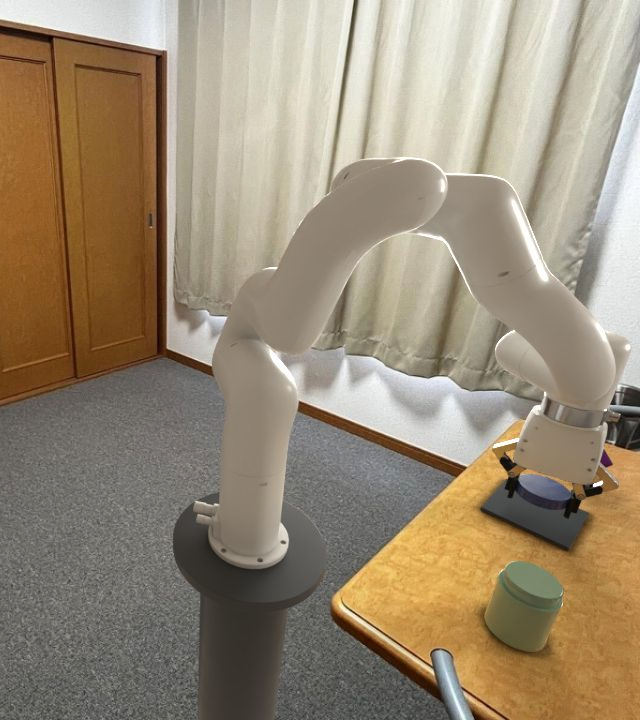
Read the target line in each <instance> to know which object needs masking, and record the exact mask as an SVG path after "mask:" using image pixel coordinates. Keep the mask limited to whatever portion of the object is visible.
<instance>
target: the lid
mask: <svg viewBox="0 0 640 720" xmlns="http://www.w3.org/2000/svg"><path fill="white" fill-rule="evenodd" d="M515 491H516V492H517V494H518V495H519V496H520V497H521V498H523V499H524V500H526V501H527V502H529V503H531V504H533V505H535V506H538V507H541V508H545V509H549V510H562V509H565V508H566V506H567V504H568V502H569V499H570V491H571V490H569V489H568V488H567V487H566V486H565V485H564V484H563V483H560V482H559V481H557V480H555V479H554V478H553V479H552V478H550V477H548V476H545V475H541V474H536V473H523V474H520V477H519V480H518V483H517V486H516V489H515Z"/></svg>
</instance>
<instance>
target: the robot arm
mask: <svg viewBox="0 0 640 720" xmlns="http://www.w3.org/2000/svg"><path fill="white" fill-rule="evenodd" d="M401 234H410V235H417V236H424V237H428V238H431V239H435V240H439V241H442V242H443V243H445V245H446V246H447V248H448V249H449V251H450V253H451V255H452V258H453V259H454V262H455V263H456V265H457V267H458V269H459V272H460V273H461V276H462V277H463V280H464V282H465V284H466V286H467V288H468V290H469V292H470V295H471V296H472V298H473V300H475V302H476V303H477V304H478V305H479V306H481V308H483V309H484V310H485V311H486V312H487V313H489V314H490V315H491V316H492V317H494V318H495V319H496V320H498V321H499V322H501V323H503V325H505V326H506V327H508V328H510V329H512V331H510V332H508V333H506V334H505V335H503V336H502V337H501V338H500V339H499V341H498V342H497V343H496V345H495V349H494V357H495V360H496V362H497V364H498V365H499V366H500V368H502V369H503V370H504V371H505V372H507V373H508V374H510V375H513V376H514V377H516V378H518V379H520V380H522V381H523V382H525V383H527V384H529V385H531V386H533V387H535V388H537V389H539V390H541V391H542V392H544V393H543V396H542V399H541V402H540V404H537V405H534V406H533V407H532V409H531V410H530V412H529V414H528V415H527V417H526V419H525V421H524V423H523V425H522V428H521V431H520V433H519V435H518V438H515V439H511V440H507V441H504V442H503V441H502V442H499V443H495V444H494V445H493V446H492V448H491V449H492V450H491V451H492V452H493V455H495V458H496V459H498V461H499V464H500V465H501V467H502V468H503V469H504V470H505V472H506V475H507V476H508V477H507V478H506V479H507V482H506V485H505V490H508V491H509V493H508V496H507V498H510V499H511V498H513V495H514V492H515V489H516V486H517V483H518V480H519V477H520V476H521V474H522V473H523V472H525V471H526V470H530V471H532V472H533V471H534V472H537V473H540V474H543V475H546V476H550V477H552V478H556V479H558V480H562V481H566V482H568V483H571V486H572V489H570V490H569V491H570V499H569V502H568V504H567V506H566V508H565V509H564V513H563V516H564V518H567V519H569V517H570V514H571V512H573V513H575V514H576V513H577V511H578V509H580V506H581V504H582V502H583V501H585V500H587V498H592V497H596V496H600V495H602V494H603V493H608V492H611V491H614V490H617V489H619V485H620V483H619V480H618V479H617V478H616V477H615V476H614V475H613V474H612V473H611V472H610V471H609V470H608V469H607V467H606V468H605V467H604V466H603V465H602V464H601V462H600V460H601V456H602V453H603V449H604V450H605V444H606V439H607V435H608V428H609V427H608V426H609V425H608V423H607V422H615V423H618V422H619V420H620V418H621V413H619V412H616V411H614V410H611V407H610V406H611V403H612V400H613V398H614V396H615V393H616V391H617V388H618V386H619V383H620V381H621V378H622V376H623V374H624V371H625V368H626V366H627V363H628V361H629V359H630V356H631V353H632V347H633V346H632V343H631V341H630V340H629V339H628V338H627V337H625V336H623V335H621V334H618V333H616V332H612V331H608V330H605V329H604V328H603V326H602V325H601V323H600V322H599V321H598V320H597V318H596V316H595V315H593V313H592V312H591V311H590V310H589V309H588V308H587V307H586V306H585V305H584V304H583V303H582V302H581V301H580V300H579V299H578V297H576V296H575V295H574V294H573V293H572V292H571V290H570V289H569V288H567V286H565V284H564V283H562V282H561V280H559V279H558V278H557V277H556V276H555V275H554V274H552V272H551V271H550V269H549V268H548V266H547V264H546V262H545V260H544V257H543V254H542V252H541V250H540V247H539V245H538V242H537V240H536V237H535V234H534V232H533V229H532V227H531V225H530V222H529V219H528V216H527V215H526V211H525V209H524V207H523V205H522V203H521V200H520V197H519V196H518V192H517V191H516V190H515V188H514V186H513V185H512V184H511V183H509V181H507V180H506V179H504V178H501V177H499V176H496V175H490V174H477V173H476V174H474V173H455V172H454V173H453V172H451V173H450V172H444V171H443V169H442V168H441V167H440V166H438V165H437V164H435V163H434V162H431V161H429V160H426V159H423V158H418V157H417V158H416V157H388V158H383V157H382V158H381V157H379V158H373V157H371V158H362V159H358V160H357V159H356V160H355V161H353V162H350V163H349V164H347V165H345V166H344V167H343V168H341V169H340V170H339V171H338V173H337V174H336V175H335V177H334V179H333V180H332V183H331V185H330V187H329V193H327V194H326V195H324V196H323V197H322V198H321V199H320V200H319V201H317V203H316V204H314V205H313V206H312V207H311V209H310V210H309V211H308V212H307V213H306V214H305V215H304V217H303V218H302V220H301V221H300V222H299V224H298V226H297V227H296V229H295V231H294V232H293V235H292V237H291V238H290V241H289V243H288V244H287V246H286V249H285V251H284V253H283V254H282V256H281V259H280V260H279V263H278V265H277V267H273V266H272V267H266V268H263V269H260V270H258V271H256V272H255V273H253V274H251V275H250V276H249V277H248V278H247V279H246V280H245V281H244V283H242V285H241V286H240V288H239V290H238V292H237V293H236V296H235V298H234V299H233V302H232V305H231V308H230V310H229V312H228V314H227V317H226V320H225V322H224V324H223V326H222V330H221V332H220V335H219V337H218V339H217V340H216V341H217V342H216V344H215V347H214V350H213V353H212V358H211V371H212V374H213V377H214V379H215V382H216V384H217V386H218V388H219V391H220V394H221V396H222V398H223V400H224V405H225V418H224V423H223V428H222V431H221V442H220V469H219V492H220V493H219V504H214V505H209V504H206V503H203V502H199V501H196V500H195V501H194V502H195V504H194V508H193V512H194V513H198V515H197V519H196V522H197V523H200V524H206V525H209V530H208V539H209V543H210V545H211V547H212V549H213V550H214V552H215V553H216V554H217V555H218V556H219V557H220V558H221V559H223V560H224V561H226V562H227V563H229V564H232V565H234V566H237V567H240V568H245V569H263V568H268V567H270V566H273V565H275V564H277V563H278V562H280V561H281V560H282V559H283V558H284V556H285V554H286V553H287V549H288V543H289V539H288V534H287V531H286V529H285V528H284V526H283V525H282V523H281V522H280V520H281V511H282V501H283V500H284V491H285V481H286V471H287V460H288V452H289V444H290V437H291V433H292V428H293V425H294V422H295V420H296V417H297V413H298V409H299V403H300V401H299V400H300V399H299V398H300V397H299V396H300V395H299V389H298V386H297V383H296V381H295V379H294V377H293V375H292V373H291V372H290V370H289V369H288V368H287V367H286V365H285V364H284V363H283V362H282V360H281V359H280V358H279V357H278V356H277V355H276V353H277V352H278V353H280V354H282V355H286V356H298V355H301V354H304V353H306V352H307V351H309V350H310V349H311V348H313V347H314V345H315V344H316V343H317V341H318V340H319V339H320V337H321V335H322V334H323V332H324V330H325V328H326V326H327V324H328V321H329V319H330V317H331V315H332V314H333V311H334V309H335V307H336V306H337V303H338V301H339V300H340V297H341V295H342V294H343V291H344V288H345V287H346V285H347V283H348V281H349V279H350V277H351V275H352V274H353V272H354V270H355V269H356V267H357V265H358V264H359V262H360V261H361V260H362V259H363V258H364V256H365V255H366V254H368V253H369V252H370V251H371V250H372V249H374V247H377V245H379V244H380V243H382V242H384V241H386V240H388V239H390V238H392V237H394V236H398V235H401ZM512 451H514V452H513V457H512V459H511V457H510V456H509V454H508V455H507V453H506V452H512ZM595 476H597V477H598V478H599V479H600V481H599V482H593V481H594V479H595ZM200 514H202V515H200ZM204 514H205V515H209V516H211V517H207V516H204Z"/></svg>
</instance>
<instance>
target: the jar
mask: <svg viewBox="0 0 640 720" xmlns="http://www.w3.org/2000/svg"><path fill="white" fill-rule="evenodd" d="M564 594H565V589H564V587H563V584H562V583H561V582H560V581H559V579H558V578H557V577H556V576H554V575H553V574H552V573H551V572H550V571H548V570H547V569H545V568H544V567H541V566H539V565H537V564H535V563H533V562H530V561H529V562H528V561H525V560H513V561H510V562H508V563H507V564H506V565H505V567H504V568H503V569H502V570H501V571H500V572H499V573H498V575H497V577H496V581H495V583H494V586H493V588H492V592H491V594H490V597H489V600H488V603H487V606H486V609H485V610H484V615H483V616H484V617H483V618H484V622H485V625H486V626H487V628H488V630H489V631H490V632H491V633H492V634H493V635H494V636H495V637H496V638H497V639H498V640H500V641H501V642H502V643H504V644H505V645H507V646H509V647H511V648H514V649H516V650H518V651H522V652H525V653H526V652H527V653H535V652H539V651H542V650H543V649H544V647H545V646H546V644H547V641H548V639H549V637H550V634H551V632H552V630H553V628H554V626H555V623H556V621H557V620H558V616H559V615H560V612H561V610H562V608H563V604H564V600H563V596H564Z"/></svg>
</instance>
